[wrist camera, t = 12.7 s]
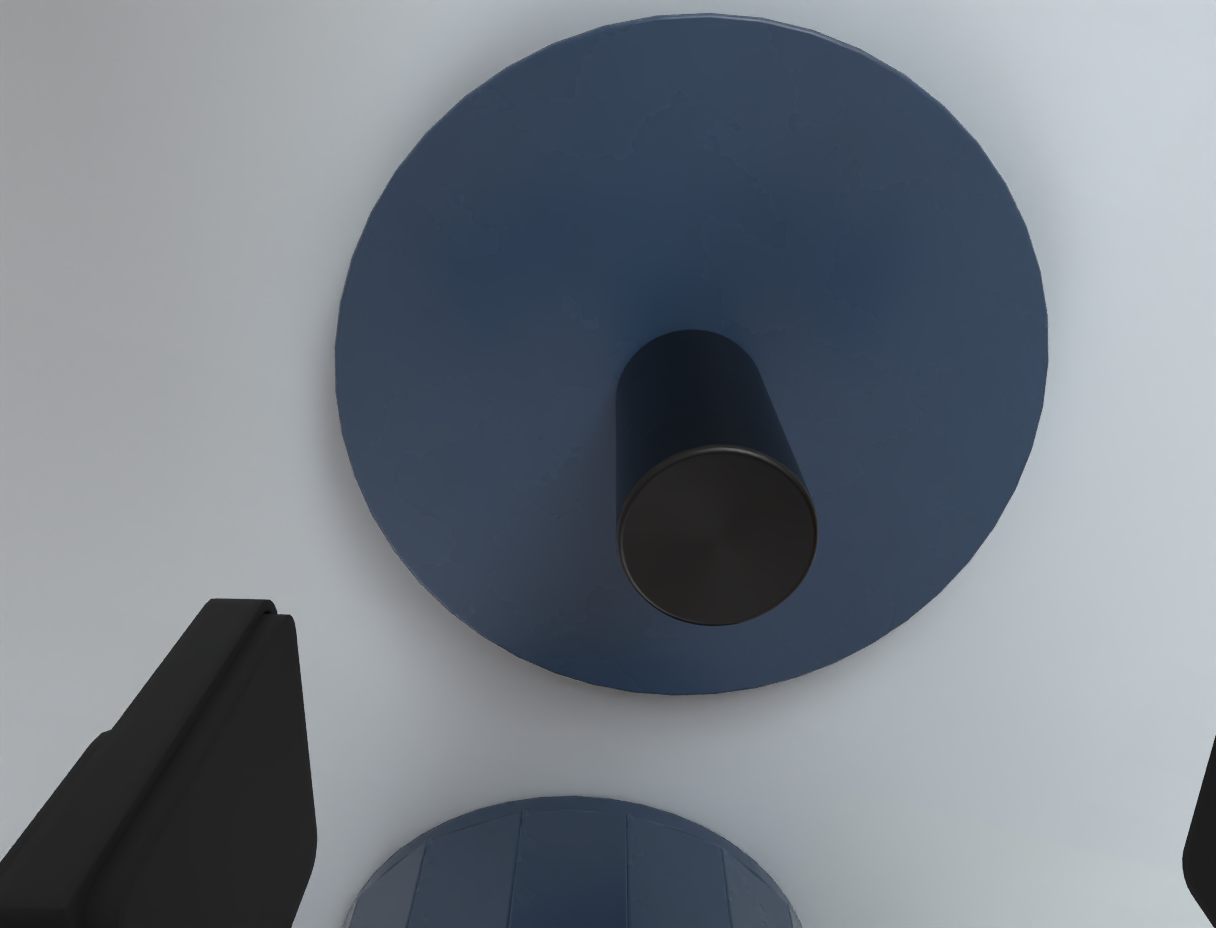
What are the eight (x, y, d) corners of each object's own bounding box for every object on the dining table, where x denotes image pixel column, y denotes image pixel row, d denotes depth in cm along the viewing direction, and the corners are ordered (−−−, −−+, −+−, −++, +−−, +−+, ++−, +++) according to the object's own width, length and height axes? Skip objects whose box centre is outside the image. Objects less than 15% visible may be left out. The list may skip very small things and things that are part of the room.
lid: (321, 6, 17) (154, -6, 11) (1085, 21, 17) (1351, 17, 11) (373, 657, 22) (278, 904, 16) (969, 668, 22) (1108, 920, 16)
